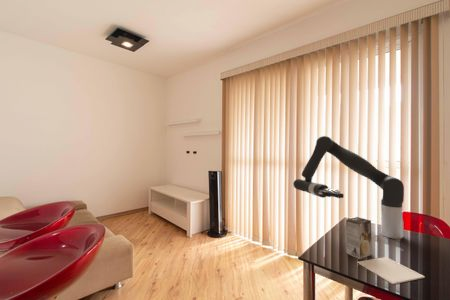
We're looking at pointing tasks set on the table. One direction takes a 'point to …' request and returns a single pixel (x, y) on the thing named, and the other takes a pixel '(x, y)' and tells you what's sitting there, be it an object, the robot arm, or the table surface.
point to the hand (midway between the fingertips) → (341, 196)
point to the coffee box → (358, 237)
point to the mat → (390, 270)
